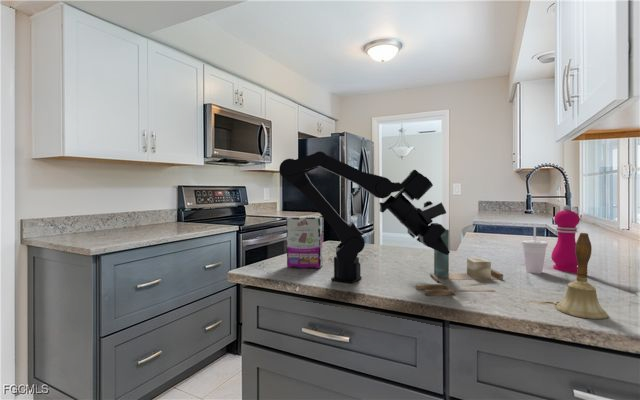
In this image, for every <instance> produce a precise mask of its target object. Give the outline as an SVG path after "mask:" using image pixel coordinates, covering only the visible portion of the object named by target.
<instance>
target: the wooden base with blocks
mask: <svg viewBox="0 0 640 400" xmlns="http://www.w3.org/2000/svg"><path fill="white" fill-rule="evenodd" d="M445 229H446V231H445V232H444V233H443V234H442V235H441V238H442V240H443V242H444V243H445V245H446V246H447V248H448V250H449V251H450V229H447V228H445ZM449 255H450V253H449V254H448V255H446V254H444V253H441V252H439V251H437V250H435V249H433V256H434V257H433V261H434V262H433V263H434V264H433V265H434V266H433V272H431V273H430V278H431V279H432V280H433V281H434V282H436V284H442V282H441V281H443V280H444V281H445V280H446V281H447V280H450V281H451V280H455V281H456V280H460V281H461V280H462V281H464V280H467V281H471V280H472V281H474V280H475V281H476V280H478V281H480V280H481V281H483V280H484V281H489V280H490V281H493V280H496V281H502V280H504V274H503V273H501V272H499V271H497V270H496V269H493V268H491V279H473V278H472V277H470V276H469V275H467V272H466V273H459V272H458V273H457V272H456V273H454V272H453V273H449V271H450V267H449V265H450V261H449V260H450V259H449V257H450V256H449ZM440 280H441V281H440Z"/></svg>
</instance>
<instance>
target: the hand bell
mask: <svg viewBox="0 0 640 400" xmlns="http://www.w3.org/2000/svg"><path fill="white" fill-rule="evenodd" d="M575 242H576V246H575V254H576V258H577V262H578V265H577V267H578V269H577V274H576V278H575V281H572V282H569V283H567V289H566V292H565V295H564V297H563V299H562V300H561V301H560V302H558V303H557V304H556V305H555V307H556V310H558V311H559V312H561V313H564V314H566V315H569V316H573V317H578V318H583V319H589V320H604V319H607V318H608V317H609V314H608V313H607V311H606V310H604V309H603V307H602V306H601V304H600V302H599V299H598V295H597V289H596V287H595V286H594V285H593V284H591V283H590V282H588V277H589V276H588V265H589V263H590V262H589V261H590V259H591V256H592V250H593V249H592V243H591V240H590V237H589V233H586V232H579V236H578V238H577V240H576V241H575Z"/></svg>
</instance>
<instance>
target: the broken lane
mask: <svg viewBox="0 0 640 400" xmlns="http://www.w3.org/2000/svg"><path fill="white" fill-rule="evenodd" d="M462 286H464V287H471V286H487V284H486V283H484V282H483V283H482V282H481V283H469V284H468V283H467V284H465V283H463V284H462ZM448 287H450V284H449V283H448V284H447V283H446V284H442V283H433V284H432V283H431V284H430V283H427V284H426V283H424V284H422V283H421V284H419V283H418V284H415V289H416V290H417V291H418V290H420V291H422V290H423V291H424V295H425V296H454V297H455V296H456V294H455V293H454V292H458V293H459V292H465V293H466V292H468V293H469V292H473V293H474V292H477V293H478V292H479V293H481V292H482V293H483V292H485V293H486V292H488V293H489V292H490V293H493V292H494V293H495V292H496V290H494V289H449V288H448Z"/></svg>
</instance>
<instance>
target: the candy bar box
mask: <svg viewBox="0 0 640 400" xmlns="http://www.w3.org/2000/svg"><path fill="white" fill-rule="evenodd" d="M285 221H286V268H288V269H289V268H290V269H321V268H322V267H323V265H324V264H323V263H324V258H323V257H324V256H323V255H324V254H323V252H324V251H323V216H322V215H321V216H319V215H318V216H317V215H316V216H315V215H314V216H313V215H312V216H310V215H309V216H306V215H305V216H288V217H286V219H285Z"/></svg>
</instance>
